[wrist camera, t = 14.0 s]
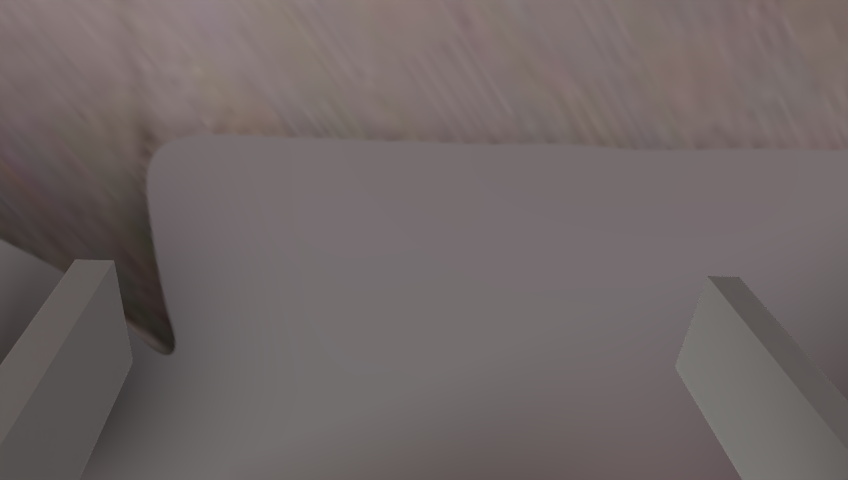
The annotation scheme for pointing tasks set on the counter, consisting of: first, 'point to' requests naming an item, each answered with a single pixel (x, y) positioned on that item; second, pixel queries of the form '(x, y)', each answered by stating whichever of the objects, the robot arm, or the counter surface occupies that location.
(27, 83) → the counter surface
